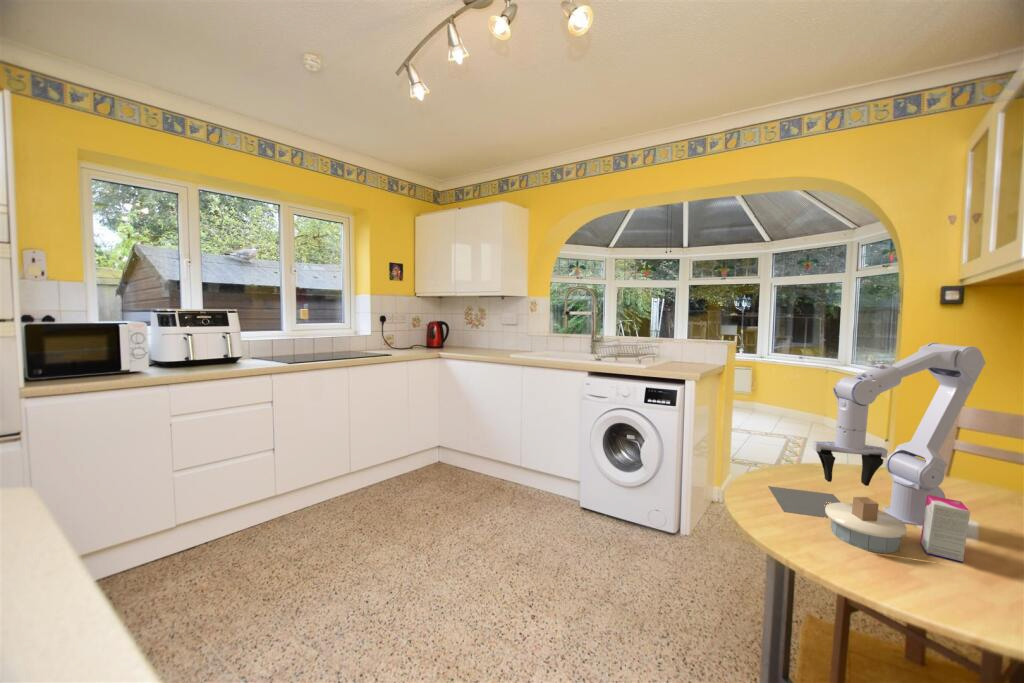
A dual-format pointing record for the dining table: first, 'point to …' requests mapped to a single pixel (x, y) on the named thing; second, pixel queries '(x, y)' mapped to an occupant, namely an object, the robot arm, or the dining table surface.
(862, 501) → the lid
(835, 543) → the dining table surface
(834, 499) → the mat
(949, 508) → the supplement box
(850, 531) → the bowl
